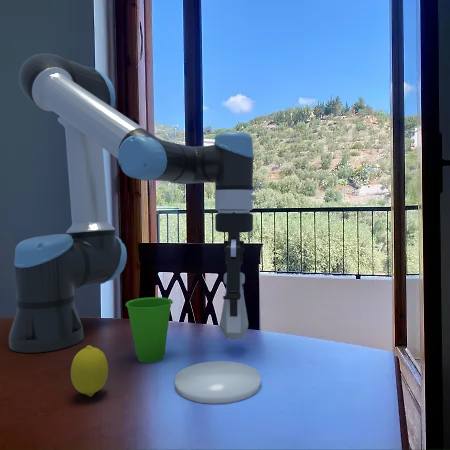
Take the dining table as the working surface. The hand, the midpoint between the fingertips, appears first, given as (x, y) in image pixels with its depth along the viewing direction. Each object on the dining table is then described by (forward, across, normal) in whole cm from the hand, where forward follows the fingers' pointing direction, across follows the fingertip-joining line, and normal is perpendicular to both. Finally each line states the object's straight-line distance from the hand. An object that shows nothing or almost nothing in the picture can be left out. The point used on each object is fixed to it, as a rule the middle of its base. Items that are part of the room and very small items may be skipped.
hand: (234, 326), depth 84 cm
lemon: (+5, -20, +22) cm, 30 cm away
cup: (+5, -4, +16) cm, 17 cm away
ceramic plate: (+5, -16, +2) cm, 17 cm away
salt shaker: (+2, 0, 0) cm, 2 cm away
